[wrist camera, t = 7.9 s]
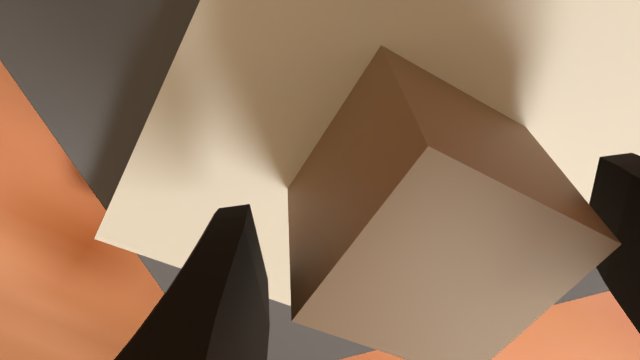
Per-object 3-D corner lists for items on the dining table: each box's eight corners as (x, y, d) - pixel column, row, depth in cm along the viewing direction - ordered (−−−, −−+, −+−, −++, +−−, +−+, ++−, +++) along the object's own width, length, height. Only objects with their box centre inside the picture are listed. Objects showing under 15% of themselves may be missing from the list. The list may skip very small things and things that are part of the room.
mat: (671, 258, 17) (683, 271, 16) (231, 372, 18) (230, 387, 18) (742, -396, 8) (772, -411, 8) (-75, -77, 10) (-93, -72, 10)
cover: (726, 55, 12) (944, 168, 8) (438, 338, 17) (487, 492, 13) (314, -258, 8) (347, -330, 4) (103, 218, 14) (31, 382, 10)
